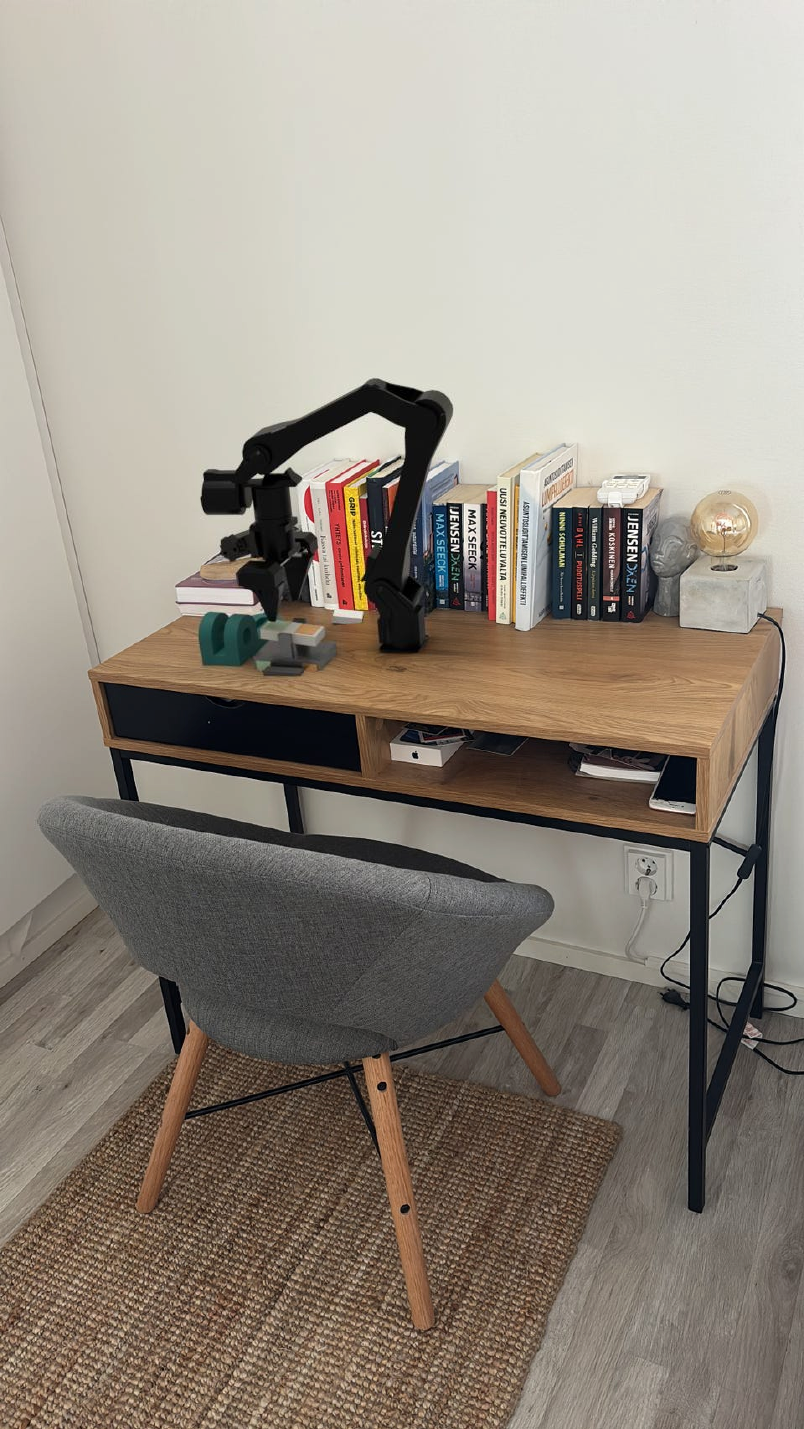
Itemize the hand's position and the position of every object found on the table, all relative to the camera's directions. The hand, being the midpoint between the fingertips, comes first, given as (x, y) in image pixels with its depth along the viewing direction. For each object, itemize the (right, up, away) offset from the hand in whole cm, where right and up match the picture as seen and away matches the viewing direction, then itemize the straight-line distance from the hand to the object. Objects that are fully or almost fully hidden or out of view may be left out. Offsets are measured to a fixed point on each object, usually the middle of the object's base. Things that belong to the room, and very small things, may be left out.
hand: (284, 610), depth 181 cm
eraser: (+7, -2, +12) cm, 14 cm away
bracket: (-7, -5, +8) cm, 12 cm away
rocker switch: (+2, -4, -4) cm, 6 cm away
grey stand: (+2, -9, -2) cm, 9 cm away
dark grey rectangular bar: (+1, -11, -6) cm, 13 cm away
